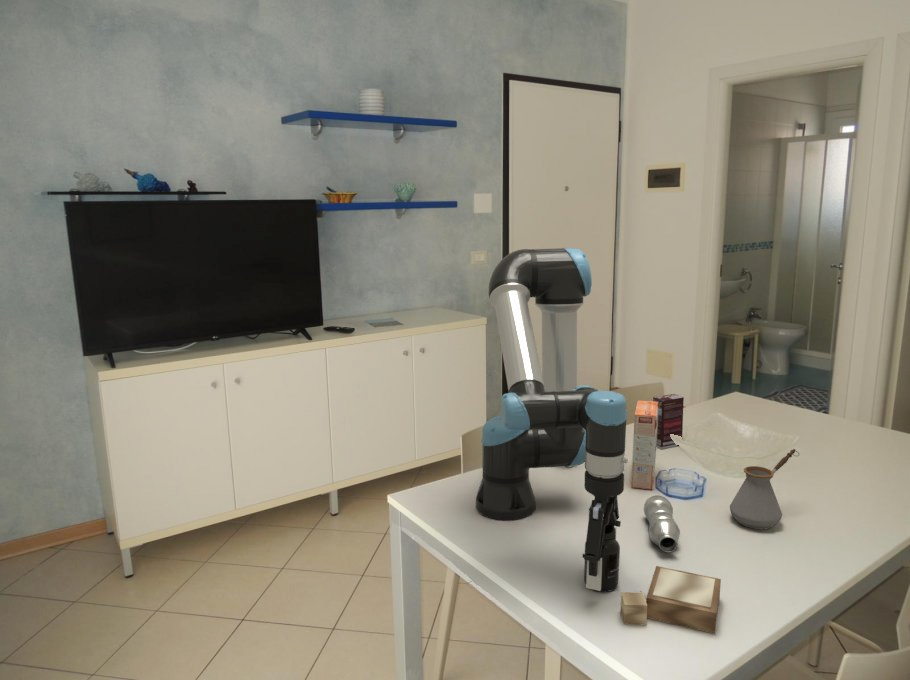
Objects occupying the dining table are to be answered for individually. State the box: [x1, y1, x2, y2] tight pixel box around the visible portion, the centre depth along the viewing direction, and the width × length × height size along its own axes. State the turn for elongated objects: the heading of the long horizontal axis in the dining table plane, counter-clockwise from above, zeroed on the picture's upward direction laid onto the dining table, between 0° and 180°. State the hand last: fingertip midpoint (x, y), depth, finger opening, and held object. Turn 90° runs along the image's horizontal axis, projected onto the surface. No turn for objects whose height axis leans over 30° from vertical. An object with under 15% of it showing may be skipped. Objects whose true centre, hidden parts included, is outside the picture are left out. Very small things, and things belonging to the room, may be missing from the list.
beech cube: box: [620, 591, 648, 626], centre depth 122 cm, size 4×4×4 cm
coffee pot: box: [729, 448, 800, 530], centre depth 160 cm, size 21×12×15 cm, turn 124°
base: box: [645, 565, 722, 634], centre depth 125 cm, size 12×12×4 cm
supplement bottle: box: [583, 524, 621, 593], centre depth 133 cm, size 7×7×12 cm
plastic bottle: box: [643, 495, 681, 553], centre depth 152 cm, size 6×7×20 cm
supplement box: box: [652, 393, 685, 450], centre depth 208 cm, size 9×5×16 cm, turn 114°
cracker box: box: [630, 400, 658, 491], centre depth 182 cm, size 14×6×21 cm, turn 161°
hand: (601, 571), depth 134 cm, fingers open, 12 cm apart
